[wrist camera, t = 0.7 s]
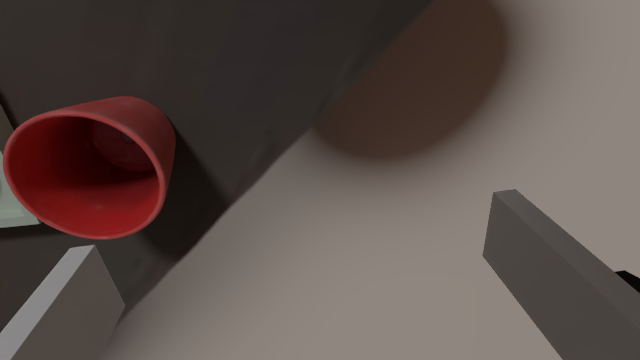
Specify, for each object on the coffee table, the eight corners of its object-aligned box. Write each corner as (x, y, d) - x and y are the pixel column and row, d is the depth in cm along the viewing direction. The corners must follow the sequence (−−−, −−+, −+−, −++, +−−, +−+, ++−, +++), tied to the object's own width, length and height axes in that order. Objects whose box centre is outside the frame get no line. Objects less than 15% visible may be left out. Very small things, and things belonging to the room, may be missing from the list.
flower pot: (63, 69, 31) (-19, 100, 22) (193, 89, 33) (163, 124, 24) (79, 175, 36) (16, 234, 27) (192, 187, 38) (166, 246, 29)
